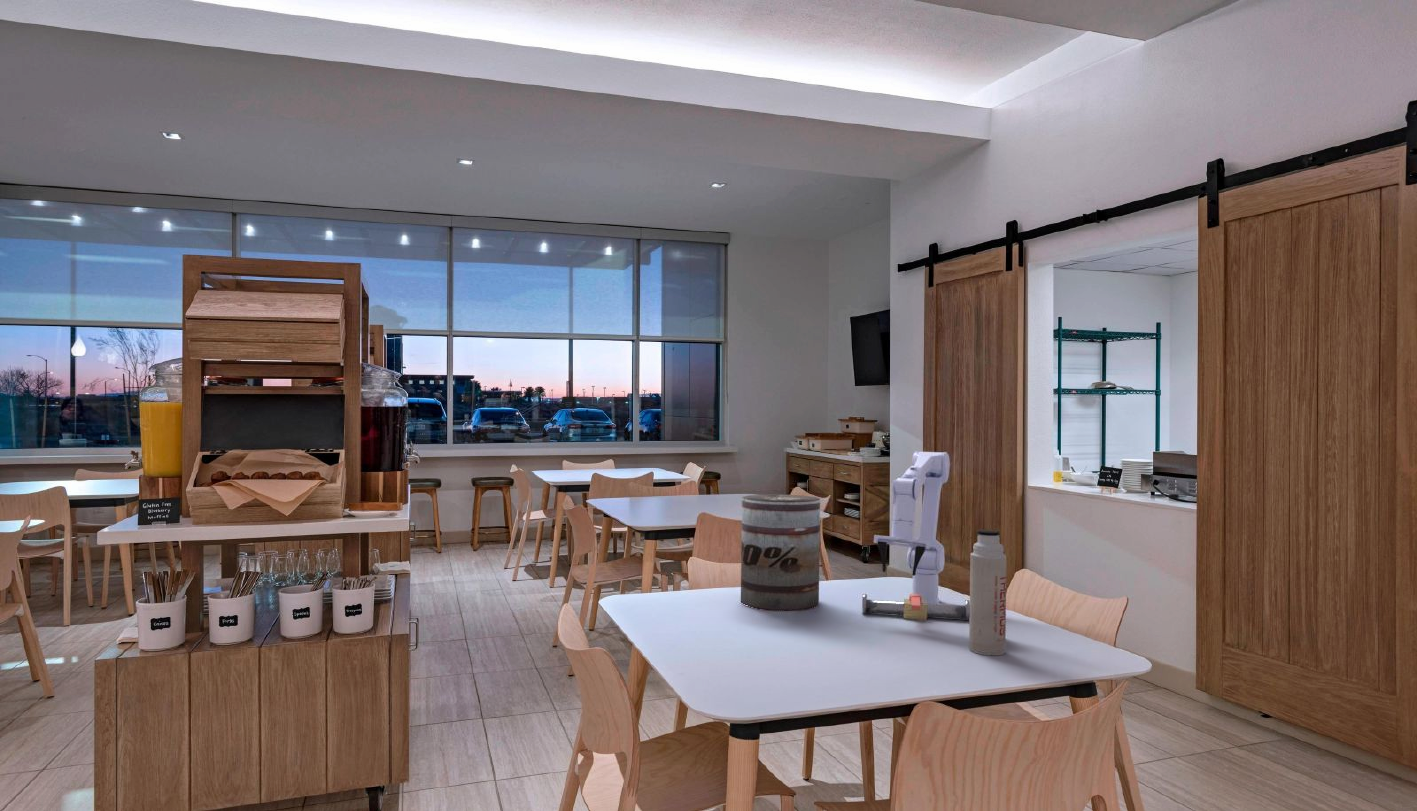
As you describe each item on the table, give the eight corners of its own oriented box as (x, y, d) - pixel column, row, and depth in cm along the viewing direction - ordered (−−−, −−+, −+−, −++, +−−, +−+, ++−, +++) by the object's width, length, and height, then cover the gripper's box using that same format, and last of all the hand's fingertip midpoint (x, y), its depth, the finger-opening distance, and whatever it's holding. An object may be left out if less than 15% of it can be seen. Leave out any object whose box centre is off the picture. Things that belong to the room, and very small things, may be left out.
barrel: (724, 599, 250) (726, 496, 251) (782, 590, 264) (783, 493, 264) (776, 615, 232) (777, 504, 233) (835, 604, 246) (836, 499, 246)
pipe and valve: (863, 610, 239) (863, 591, 239) (968, 617, 233) (968, 598, 233) (862, 615, 233) (862, 596, 233) (969, 622, 227) (970, 602, 227)
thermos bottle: (1012, 653, 198) (1014, 531, 198) (987, 657, 195) (988, 533, 195) (987, 644, 205) (988, 527, 206) (961, 648, 202) (963, 529, 202)
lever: (909, 598, 235) (909, 593, 235) (921, 599, 234) (921, 594, 234) (909, 609, 222) (909, 604, 222) (922, 610, 221) (922, 605, 221)
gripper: (875, 517, 228) (870, 568, 225) (931, 523, 225) (927, 575, 222) (876, 520, 235) (871, 570, 232) (930, 526, 232) (926, 577, 228)
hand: (898, 573), depth 227 cm, fingers open, 7 cm apart
